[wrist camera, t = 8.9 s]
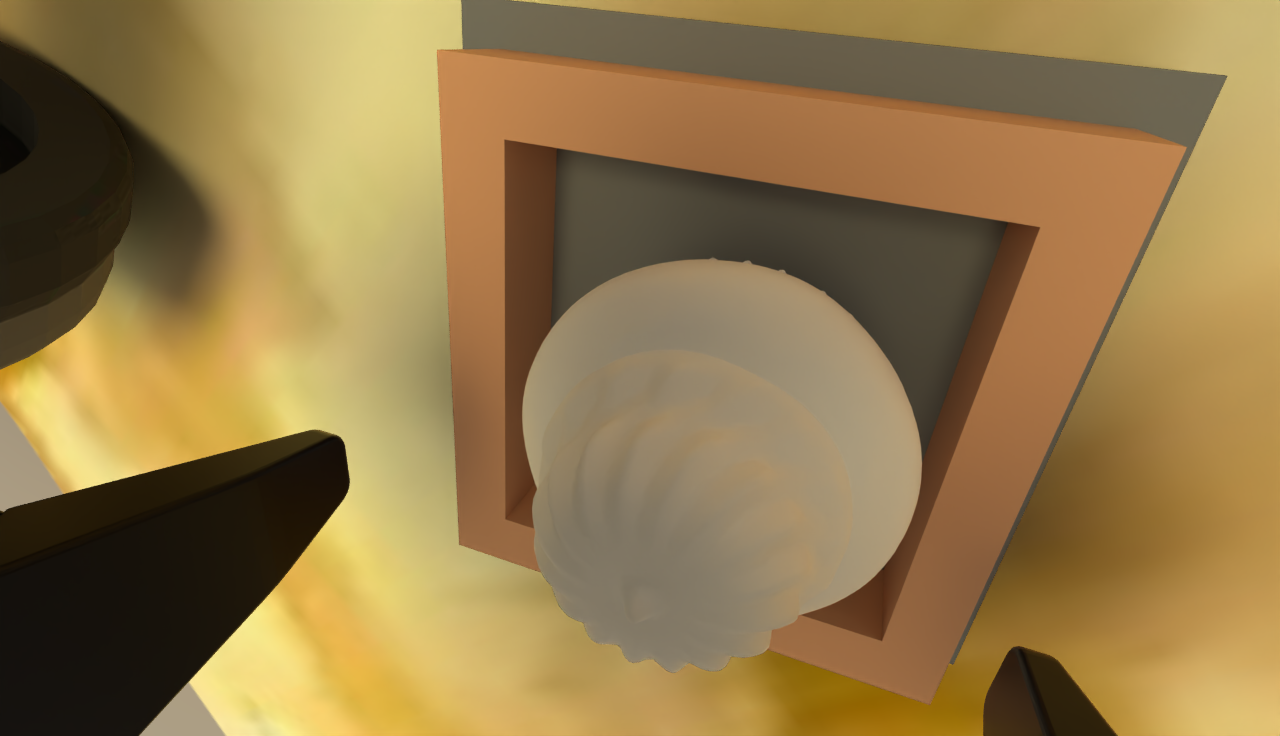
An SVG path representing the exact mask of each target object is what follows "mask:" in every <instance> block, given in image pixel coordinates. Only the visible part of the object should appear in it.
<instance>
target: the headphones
mask: <svg viewBox="0 0 1280 736" xmlns="http://www.w3.org/2000/svg"><path fill="white" fill-rule="evenodd" d="M132 192H133V159H132V157H131V155H130V152H129V150H128V147H127V145H126V143H125V140H124V138H123V136H122V134H121V132H120V129H119V127H118V126H117V124H116V123H115V122H114V121H113V119H112V118H111V117H110V116H109V115H108V113H107V112H106V111H105V110H104V108H103V107H102V106H101V105H100V104H99V103H98V102H97V101H96V100H94V99H93V98H92V97H91V96H90V95H88V94H87V93H86V92H85V91H84V90H82V89H81V88H80V87H79V86H78V85H76V84H75V83H74V82H73V81H71V80H70V79H68V78H66V77H65V76H63V75H62V74H60V73H58V72H57V71H55V70H54V69H52V68H50V67H49V66H47V65H46V64H44V63H42V62H41V61H39V60H37V59H35V58H33V57H31V56H29V55H27V54H25V53H23V52H21V51H19V50H17V49H15V48H13V47H11V46H9V45H7V44H5V43H3V42H1V41H0V369H3V368H5V367H7V366H9V365H12V364H14V363H16V362H18V361H21V360H23V359H25V358H27V357H29V356H31V355H33V354H34V353H36V352H38V351H39V350H41V349H43V348H44V347H46V346H47V345H49V344H50V343H52V342H53V341H55V340H56V339H58V338H59V337H61V336H62V335H64V334H65V333H67V332H68V331H70V330H71V329H73V328H74V327H75V326H76V325H77V324H78V323H79V322H80V321H81V320H82V319H83V318H84V317H85V316H86V315H87V314H88V312H89V311H90V310H91V309H92V308H93V307H94V306H95V305H96V303H97V300H98V298H99V296H100V294H101V292H102V290H103V287H104V285H105V283H106V281H107V278H108V276H109V274H110V271H111V269H112V266H113V257H114V249H115V248H116V246H117V245H118V244H119V242H120V240H121V238H122V236H123V234H124V232H125V230H126V227H127V225H128V223H129V221H130V214H131V203H132Z"/></svg>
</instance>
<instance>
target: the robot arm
mask: <svg viewBox="0 0 1280 736" xmlns="http://www.w3.org/2000/svg"><path fill="white" fill-rule="evenodd" d="M349 484H350V478H349V471H348V464H347V457H346V449H345V444H344V442H343V440H342V439H341V438H340V437H339V436H337V435H334V434H331V433H328V432H324V431H321V430H309V431H305V432H301V433H297V434H294V435H290V436H286V437H282V438H278V439H274V440H271V441H267V442H263V443H259V444H255V445H251V446H247V447H244V448H240V449H236V450H232V451H228V452H224V453H220V454H217V455H213V456H209V457H205V458H201V459H197V460H193V461H190V462H186V463H182V464H178V465H174V466H170V467H166V468H163V469H159V470H155V471H151V472H147V473H143V474H139V475H136V476H132V477H128V478H124V479H120V480H116V481H112V482H109V483H105V484H101V485H97V486H93V487H89V488H85V489H82V490H78V491H74V492H70V493H66V494H62V495H59V496H55V497H51V498H47V499H43V500H39V501H35V502H32V503H28V504H24V505H20V506H16V507H13V508H9V509H7V510H6V511H5V512H3V511H0V736H139V735H140V734H141V733H142V732H143V731H144V730H145V728H147V726H149V724H150V723H151V722H152V721H153V720H154V719H155V718H156V717H157V716H158V715H159V714H160V712H161V711H162V710H163V709H164V708H165V707H166V706H167V705H168V704H169V703H170V702H171V701H172V699H173V698H174V697H175V696H176V695H177V694H178V693H179V692H180V691H181V690H182V689H183V688H184V686H185V685H186V684H187V683H188V682H189V681H190V680H191V679H192V678H193V677H194V676H195V674H196V673H197V672H198V671H199V670H200V669H201V668H202V667H203V666H204V665H205V664H206V663H207V661H208V660H209V659H210V658H211V657H212V656H213V655H214V654H215V653H216V652H217V651H218V649H219V648H220V647H221V646H222V645H223V644H224V643H225V642H226V641H227V640H228V639H229V638H230V636H231V635H232V634H233V633H234V632H235V631H236V630H237V629H238V628H239V627H240V626H241V625H242V623H243V622H244V621H245V620H246V619H247V618H248V617H249V616H250V615H251V614H252V613H253V611H254V610H255V609H256V608H257V607H258V606H259V605H260V604H261V603H262V602H263V601H264V600H265V598H266V597H267V596H268V595H269V594H270V593H271V592H272V591H273V589H274V588H275V587H276V586H277V585H278V584H279V583H280V581H281V580H282V579H283V578H284V576H285V575H286V574H287V573H288V571H289V570H290V569H291V568H292V566H293V565H294V564H295V562H296V561H297V560H298V559H299V557H300V556H301V555H302V553H303V552H304V551H305V549H306V548H307V547H308V545H309V544H310V543H311V542H312V540H313V539H314V538H315V536H316V535H317V534H318V532H319V531H320V530H321V528H322V527H323V526H324V524H325V523H326V522H327V521H328V519H329V518H330V517H331V515H332V514H333V513H334V511H335V510H336V509H337V507H338V506H339V505H340V504H341V502H342V501H343V500H344V498H345V496H346V494H347V492H348V489H349ZM983 736H1118V735H1117V734H1116V733H1115V732H1114V730H1113V729H1112V728H1111V727H1110V725H1109V724H1108V723H1107V722H1106V720H1105V719H1104V718H1103V717H1102V715H1101V714H1100V713H1099V712H1098V710H1097V709H1096V708H1095V706H1094V705H1093V704H1092V703H1091V701H1090V700H1089V699H1088V698H1087V696H1086V695H1085V694H1084V693H1083V691H1082V690H1081V689H1080V688H1079V686H1078V685H1077V684H1076V682H1075V681H1074V680H1073V679H1072V677H1071V676H1070V675H1069V674H1068V672H1067V671H1066V670H1065V669H1064V667H1063V666H1062V665H1061V664H1060V663H1059V662H1058V661H1057V660H1056V659H1055V658H1054V657H1052V656H1050V655H1047V654H1043V653H1040V652H1037V651H1034V650H1031V649H1027V648H1024V647H1020V646H1017V647H1013V648H1012V649H1011V650H1010V651H1009V652H1008V653H1007V655H1006V657H1005V659H1004V661H1003V663H1002V665H1001V667H1000V669H999V671H998V673H997V675H996V677H995V679H994V680H993V682H992V684H991V686H990V688H989V690H988V693H987V695H986V699H985V704H984V714H983Z"/></svg>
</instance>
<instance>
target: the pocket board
mask: <svg viewBox="0 0 1280 736" xmlns="http://www.w3.org/2000/svg"><path fill="white" fill-rule="evenodd" d="M461 3H462V38H463V49H457V50H437V60H438V82H439V105H440V127H441V149H442V171H443V193H444V216H445V238H446V260H447V282H448V304H449V327H450V349H451V371H452V393H453V415H454V438H455V460H456V482H457V504H458V526H459V545H462V546H465V547H468V548H471V549H474V550H477V551H480V552H483V553H486V554H488V555H491V556H494V557H497V558H500V559H503V560H506V561H509V562H512V563H515V564H518V565H521V566H524V567H527V568H530V569H533V570H535V571H538V572H541V571H540V569H539V567H538V563H537V559H536V555H535V551H534V537H535V529H534V524H533V518H532V505H533V498H534V496H535V493H536V491H537V487H536V485H535V482H534V478H533V475H532V472H531V468H530V465H529V461H528V457H527V452H526V447H525V441H524V434H523V424H522V407H523V397H524V391H525V385H526V381H527V378H528V375H529V371H530V369H531V366H532V364H533V361H534V359H535V357H536V354H537V352H538V350H539V348H540V347H541V345H542V343H543V341H544V340H545V338H546V337H547V335H548V334H549V332H550V331H551V329H552V328H553V326H554V325H555V324H556V322H557V321H558V320H559V319H560V318H561V317H562V315H563V314H564V313H565V312H566V311H567V310H568V309H569V308H570V307H571V306H572V305H573V304H574V303H576V302H577V301H578V300H579V299H580V298H582V297H583V296H584V295H586V294H587V293H589V292H590V291H592V290H593V289H595V288H596V287H598V286H599V285H601V284H603V283H605V282H607V281H609V280H610V279H613V278H615V277H617V276H620V275H622V274H624V273H627V272H630V271H633V270H636V269H640V268H643V267H646V266H651V265H655V264H659V263H666V262H672V261H680V260H695V259H708V260H709V259H710V258H712V257H713V258H715V259H717V260H723V261H735V262H742V263H743V262H744V261H747V260H748V261H750V262H751V263H752V264H754V265H759V266H763V267H767V268H770V269H773V270H777V271H779V270H785V272H786V274H788V275H791V276H793V277H796V278H798V279H800V280H802V281H804V282H806V283H808V284H810V285H812V286H814V287H815V288H817V289H819V290H820V291H825V292H826V295H828V296H829V297H830V298H832V299H833V300H834V301H836V302H837V303H838V304H839V305H840V306H842V307H843V308H844V309H845V310H846V311H847V312H849V313H850V314H852V315H853V317H854V318H855V319H856V320H857V321H858V322H859V323H860V325H861V326H862V327H863V328H864V329H865V330H866V331H867V332H868V334H869V335H870V336H871V337H872V338H873V340H874V341H875V342H876V343H877V345H878V346H879V347H880V349H881V350H882V352H883V353H884V354H885V356H886V357H887V359H888V360H889V362H890V363H891V365H892V366H893V368H894V370H895V372H896V373H897V375H898V377H899V379H900V381H901V383H902V385H903V388H904V390H905V393H906V395H907V397H908V400H909V402H910V405H911V407H912V410H913V414H914V417H915V420H916V423H917V428H918V432H919V437H920V444H921V455H922V474H921V485H920V491H919V496H918V501H917V504H916V508H915V511H914V514H913V517H912V520H911V522H910V524H909V527H908V529H907V531H906V533H905V536H904V537H903V539H902V540H901V542H900V544H899V546H898V547H897V549H896V551H895V553H894V554H893V555H892V557H891V558H890V560H889V561H888V562H887V563H886V564H885V566H884V567H883V568H882V569H881V570H880V571H879V572H878V573H877V575H876V576H875V577H873V578H872V579H871V580H870V581H869V582H868V583H867V584H865V585H864V586H863V587H861V588H860V589H858V590H857V591H855V592H854V593H852V594H850V595H849V596H847V597H845V598H843V599H841V600H840V601H838V602H836V603H833V604H831V605H828V606H826V607H823V608H821V609H818V610H815V611H811V612H808V613H805V614H802V615H798V618H797V620H796V621H795V622H794V623H791V624H789V625H786V626H784V627H782V628H779V629H774V630H772V633H771V640H770V645H769V648H768V649H767V650H770V651H773V652H776V653H779V654H782V655H785V656H788V657H791V658H794V659H797V660H800V661H802V662H805V663H808V664H811V665H814V666H817V667H820V668H823V669H826V670H829V671H832V672H835V673H838V674H841V675H844V676H846V677H849V678H852V679H855V680H858V681H861V682H864V683H867V684H870V685H873V686H876V687H879V688H882V689H885V690H888V691H891V692H893V693H896V694H899V695H902V696H905V697H908V698H911V699H914V700H917V701H920V702H923V703H926V704H929V705H930V703H931V701H932V699H933V697H934V695H935V693H936V690H937V688H938V686H939V684H940V682H941V680H942V677H943V675H944V673H945V671H946V669H947V667H948V664H949V663H950V664H954V662H955V659H956V657H957V655H958V653H959V651H960V649H961V647H962V644H963V642H964V640H965V638H966V636H967V634H968V632H969V629H970V627H971V625H972V623H973V621H974V619H975V617H976V614H977V612H978V610H979V608H980V606H981V604H982V602H983V599H984V597H985V595H986V593H987V591H988V589H989V587H990V584H991V582H992V580H993V578H994V576H995V574H996V571H997V569H998V567H999V565H1000V563H1001V561H1002V559H1003V556H1004V554H1005V552H1006V550H1007V548H1008V546H1009V544H1010V541H1011V539H1012V537H1013V535H1014V533H1015V531H1016V529H1017V526H1018V524H1019V522H1020V520H1021V518H1022V516H1023V514H1024V511H1025V509H1026V507H1027V505H1028V503H1029V501H1030V499H1031V496H1032V494H1033V492H1034V490H1035V488H1036V486H1037V484H1038V481H1039V479H1040V477H1041V475H1042V473H1043V471H1044V469H1045V466H1046V464H1047V462H1048V460H1049V458H1050V456H1051V453H1052V451H1053V449H1054V447H1055V445H1056V443H1057V441H1058V438H1059V436H1060V434H1061V432H1062V430H1063V428H1064V426H1065V423H1066V421H1067V419H1068V417H1069V415H1070V413H1071V411H1072V408H1073V406H1074V404H1075V402H1076V400H1077V398H1078V396H1079V393H1080V391H1081V389H1082V387H1083V385H1084V383H1085V381H1086V378H1087V376H1088V374H1089V372H1090V370H1091V368H1092V366H1093V363H1094V361H1095V359H1096V357H1097V355H1098V353H1099V350H1100V348H1101V346H1102V344H1103V342H1104V340H1105V338H1106V335H1107V333H1108V331H1109V329H1110V327H1111V325H1112V323H1113V320H1114V318H1115V316H1116V314H1117V312H1118V310H1119V308H1120V305H1121V303H1122V301H1123V299H1124V297H1125V295H1126V293H1127V290H1128V288H1129V286H1130V284H1131V282H1132V280H1133V278H1134V275H1135V273H1136V271H1137V269H1138V267H1139V265H1140V263H1141V260H1142V258H1143V256H1144V254H1145V252H1146V250H1147V248H1148V245H1149V243H1150V241H1151V239H1152V237H1153V235H1154V232H1155V230H1156V228H1157V226H1158V224H1159V222H1160V220H1161V217H1162V215H1163V213H1164V211H1165V209H1166V207H1167V205H1168V202H1169V200H1170V198H1171V196H1172V194H1173V192H1174V190H1175V187H1176V185H1177V183H1178V181H1179V179H1180V177H1181V175H1182V172H1183V170H1184V168H1185V166H1186V164H1187V162H1188V160H1189V157H1190V155H1191V153H1192V151H1193V149H1194V147H1195V145H1196V142H1197V140H1198V138H1199V136H1200V134H1201V132H1202V130H1203V127H1204V125H1205V123H1206V121H1207V119H1208V117H1209V114H1210V112H1211V110H1212V108H1213V106H1214V104H1215V102H1216V99H1217V97H1218V95H1219V93H1220V91H1221V89H1222V87H1223V84H1224V82H1225V80H1226V78H1227V76H1225V75H1216V74H1206V73H1197V72H1187V71H1178V70H1168V69H1159V68H1149V67H1140V66H1130V65H1120V64H1111V63H1101V62H1092V61H1082V60H1073V59H1063V58H1054V57H1044V56H1035V55H1025V54H1016V53H1006V52H997V51H987V50H978V49H968V48H958V47H949V46H939V45H930V44H920V43H911V42H901V41H892V40H882V39H873V38H863V37H854V36H844V35H835V34H825V33H816V32H806V31H796V30H787V29H777V28H768V27H758V26H749V25H739V24H730V23H720V22H711V21H701V20H692V19H682V18H673V17H663V16H654V15H644V14H634V13H625V12H615V11H606V10H596V9H587V8H577V7H568V6H558V5H549V4H539V3H530V2H520V1H511V0H461Z"/></svg>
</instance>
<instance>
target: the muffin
mask: <svg viewBox="0 0 1280 736" xmlns="http://www.w3.org/2000/svg"><path fill="white" fill-rule="evenodd" d="M522 424H523V434H524V441H525V447H526V452H527V457H528V461H529V465H530V468H531V472H532V475H533V478H534V482H535V485H536V487H537V491H536V493H535V496H534V498H533V505H532V518H533V524H534V529H535V537H534V551H535V555H536V559H537V563H538V567H539V569H540V571H541V573H542V575H543V576H544V578H545V579H546V581H547V582H548V583H549V584H550V585H551V586H552V588H553V592H554V595H555V597H556V600H557V602H558V604H559V607H560V608H561V609H562V610H563V611H564V612H565V613H566V614H567V615H568V616H569V617H571V618H573V619H575V620H577V621H580V622H583V623H584V627H585V629H586V632H587V634H588V636H589V637H590V638H591V639H592V640H593V641H594V642H596V643H598V644H616V645H618V646H619V647H620V648H621V650H622V652H623V654H624V656H625V658H626V659H627V660H628V661H629V662H632V663H635V662H640V661H643V660H646V659H654V660H655V661H656V662H657V663H658V664H659V665H661V666H662V667H663V668H664V669H665V670H667V671H669V672H672V673H676V672H677V671H679V670H680V669H682V668H683V667H684V666H686V665H687V664H688V663H691V664H693V665H695V666H697V667H699V668H701V669H704V670H707V671H719V670H722V669H723V668H724V667H726V665H727V664H728V662H729V660H730V658H731V656H733V657H741V658H745V657H753V656H756V655H759V654H762V653H764V652H765V651H766V650H767V649H768V648H769V645H770V640H771V633H772V630H774V629H779V628H782V627H784V626H786V625H789V624H791V623H794V622H795V621H796V620H797V618H798V615H802V614H805V613H808V612H811V611H815V610H818V609H821V608H823V607H826V606H828V605H831V604H833V603H836V602H838V601H840V600H841V599H843V598H845V597H847V596H849V595H850V594H852V593H854V592H855V591H857V590H858V589H860V588H861V587H863V586H864V585H865V584H867V583H868V582H869V581H870V580H871V579H872V578H873V577H875V576H876V575H877V573H878V572H879V571H880V570H881V569H882V568H883V567H884V566H885V564H886V563H887V562H888V561H889V560H890V558H891V557H892V555H893V554H894V553H895V551H896V549H897V547H898V546H899V544H900V542H901V540H902V539H903V537H904V536H905V533H906V531H907V529H908V527H909V524H910V522H911V520H912V517H913V514H914V511H915V508H916V504H917V501H918V496H919V491H920V485H921V474H922V455H921V444H920V437H919V432H918V428H917V423H916V420H915V417H914V414H913V410H912V407H911V405H910V402H909V400H908V397H907V395H906V393H905V390H904V388H903V385H902V383H901V381H900V379H899V377H898V375H897V373H896V372H895V370H894V368H893V366H892V365H891V363H890V362H889V360H888V359H887V357H886V356H885V354H884V353H883V352H882V350H881V349H880V347H879V346H878V345H877V343H876V342H875V341H874V340H873V338H872V337H871V336H870V335H869V334H868V332H867V331H866V330H865V329H864V328H863V327H862V326H861V325H860V323H859V322H858V321H857V320H856V319H855V318H854V317H853V315H852V314H850V313H849V312H847V311H846V310H845V309H844V308H843V307H842V306H840V305H839V304H838V303H837V302H836V301H834V300H833V299H832V298H830V297H829V296H828V295H826V292H825V291H820V290H819V289H817V288H815V287H814V286H812V285H810V284H808V283H806V282H804V281H802V280H800V279H798V278H796V277H793V276H791V275H788V274H786V272H785V270H779V271H777V270H773V269H770V268H767V267H763V266H759V265H754V264H752V263H751V262H750V261H748V260H747V261H744V262H743V263H742V262H735V261H723V260H717V259H715V258H713V257H712V258H710V259H709V260H708V259H695V260H680V261H672V262H666V263H659V264H655V265H651V266H646V267H643V268H640V269H636V270H633V271H630V272H627V273H624V274H622V275H620V276H617V277H615V278H613V279H610V280H609V281H607V282H605V283H603V284H601V285H599V286H598V287H596V288H595V289H593V290H592V291H590V292H589V293H587V294H586V295H584V296H583V297H582V298H580V299H579V300H578V301H577V302H576V303H574V304H573V305H572V306H571V307H570V308H569V309H568V310H567V311H566V312H565V313H564V314H563V315H562V317H561V318H560V319H559V320H558V321H557V322H556V324H555V325H554V326H553V328H552V329H551V331H550V332H549V334H548V335H547V337H546V338H545V340H544V341H543V343H542V345H541V347H540V348H539V350H538V352H537V354H536V357H535V359H534V361H533V364H532V366H531V369H530V371H529V375H528V378H527V381H526V385H525V391H524V397H523V407H522Z"/></svg>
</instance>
